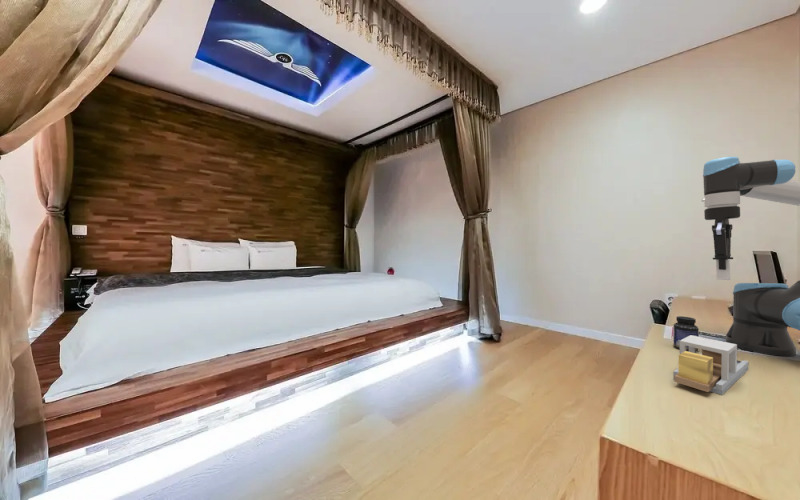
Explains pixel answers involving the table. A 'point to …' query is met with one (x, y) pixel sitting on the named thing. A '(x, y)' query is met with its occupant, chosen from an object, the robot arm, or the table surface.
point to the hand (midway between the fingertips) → (723, 279)
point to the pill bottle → (684, 330)
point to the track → (728, 371)
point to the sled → (699, 369)
